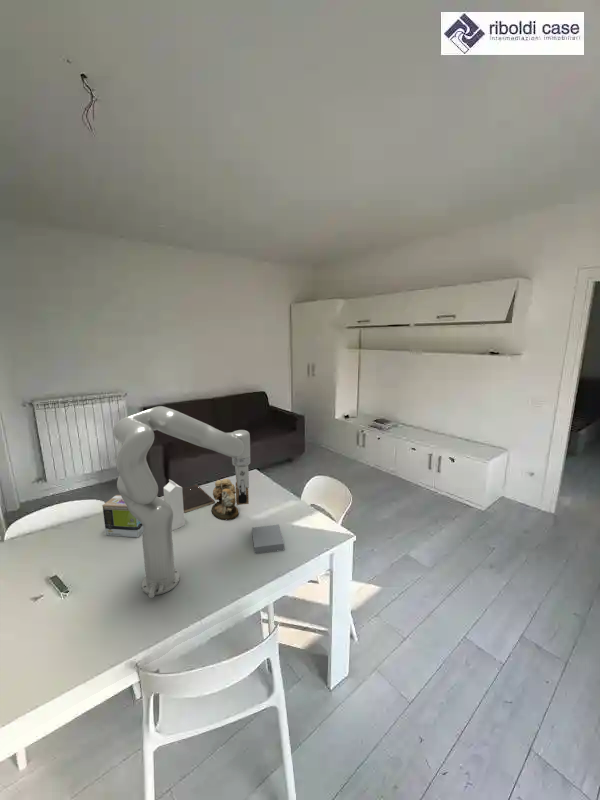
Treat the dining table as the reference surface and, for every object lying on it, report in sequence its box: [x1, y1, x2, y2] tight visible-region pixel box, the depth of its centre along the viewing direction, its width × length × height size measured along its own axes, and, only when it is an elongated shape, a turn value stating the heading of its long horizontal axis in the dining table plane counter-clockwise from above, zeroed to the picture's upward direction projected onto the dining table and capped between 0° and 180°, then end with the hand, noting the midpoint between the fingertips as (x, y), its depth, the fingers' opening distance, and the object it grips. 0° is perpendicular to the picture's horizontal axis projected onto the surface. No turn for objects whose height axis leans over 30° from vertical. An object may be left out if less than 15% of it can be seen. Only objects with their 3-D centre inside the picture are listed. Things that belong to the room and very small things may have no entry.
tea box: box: [101, 494, 144, 538], centre depth 149 cm, size 15×10×15 cm
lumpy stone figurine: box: [211, 478, 240, 521], centre depth 166 cm, size 18×12×17 cm, turn 42°
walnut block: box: [235, 481, 250, 506], centre depth 144 cm, size 5×5×8 cm
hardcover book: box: [182, 484, 216, 514], centre depth 179 cm, size 16×23×2 cm
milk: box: [163, 478, 186, 532], centre depth 153 cm, size 6×6×22 cm
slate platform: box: [251, 524, 285, 555], centre depth 144 cm, size 14×12×3 cm
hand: (242, 499), depth 145 cm, fingers closed on walnut block, 5 cm apart
